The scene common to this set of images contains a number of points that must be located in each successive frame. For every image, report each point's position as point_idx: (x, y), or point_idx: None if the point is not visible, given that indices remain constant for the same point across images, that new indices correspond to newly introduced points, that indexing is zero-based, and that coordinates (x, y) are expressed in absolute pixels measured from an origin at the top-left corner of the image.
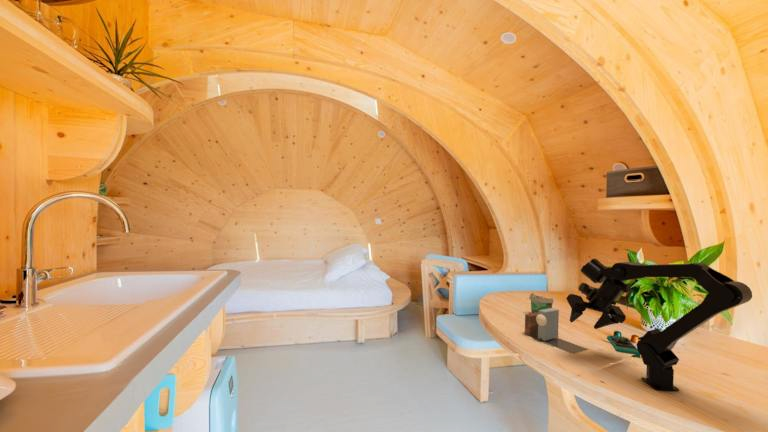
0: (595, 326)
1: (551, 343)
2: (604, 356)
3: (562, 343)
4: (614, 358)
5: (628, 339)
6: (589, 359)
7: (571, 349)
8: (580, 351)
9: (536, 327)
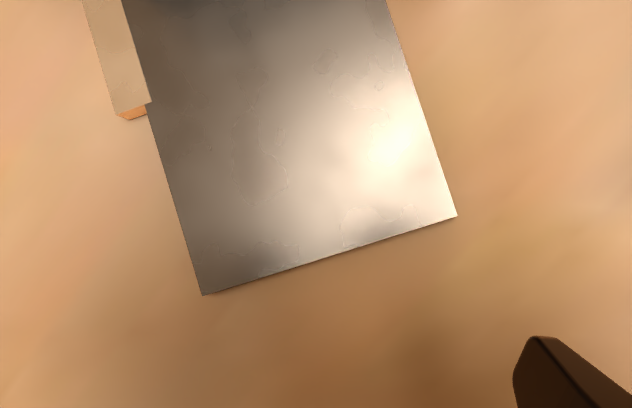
0: (537, 392)
1: (162, 21)
2: None
3: (281, 30)
4: None
5: None
6: (328, 373)
7: (264, 194)
8: (322, 255)
9: None
